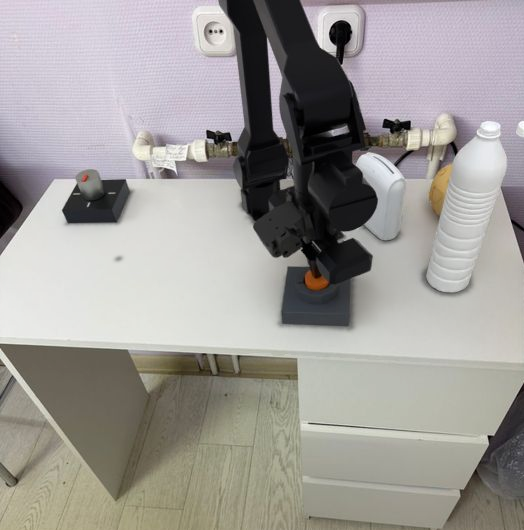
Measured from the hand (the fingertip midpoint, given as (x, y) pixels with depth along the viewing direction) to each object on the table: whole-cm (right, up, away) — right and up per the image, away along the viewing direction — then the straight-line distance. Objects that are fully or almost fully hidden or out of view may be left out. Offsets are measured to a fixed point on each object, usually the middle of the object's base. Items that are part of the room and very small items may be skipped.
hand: (316, 276), depth 73 cm
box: (0, -3, +4) cm, 5 cm away
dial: (-41, +19, +23) cm, 51 cm away
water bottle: (+22, 0, +5) cm, 23 cm away
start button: (0, -1, +1) cm, 2 cm away
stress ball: (+26, +13, +14) cm, 32 cm away
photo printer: (+12, +11, +15) cm, 22 cm away
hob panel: (-41, +18, +25) cm, 51 cm away
